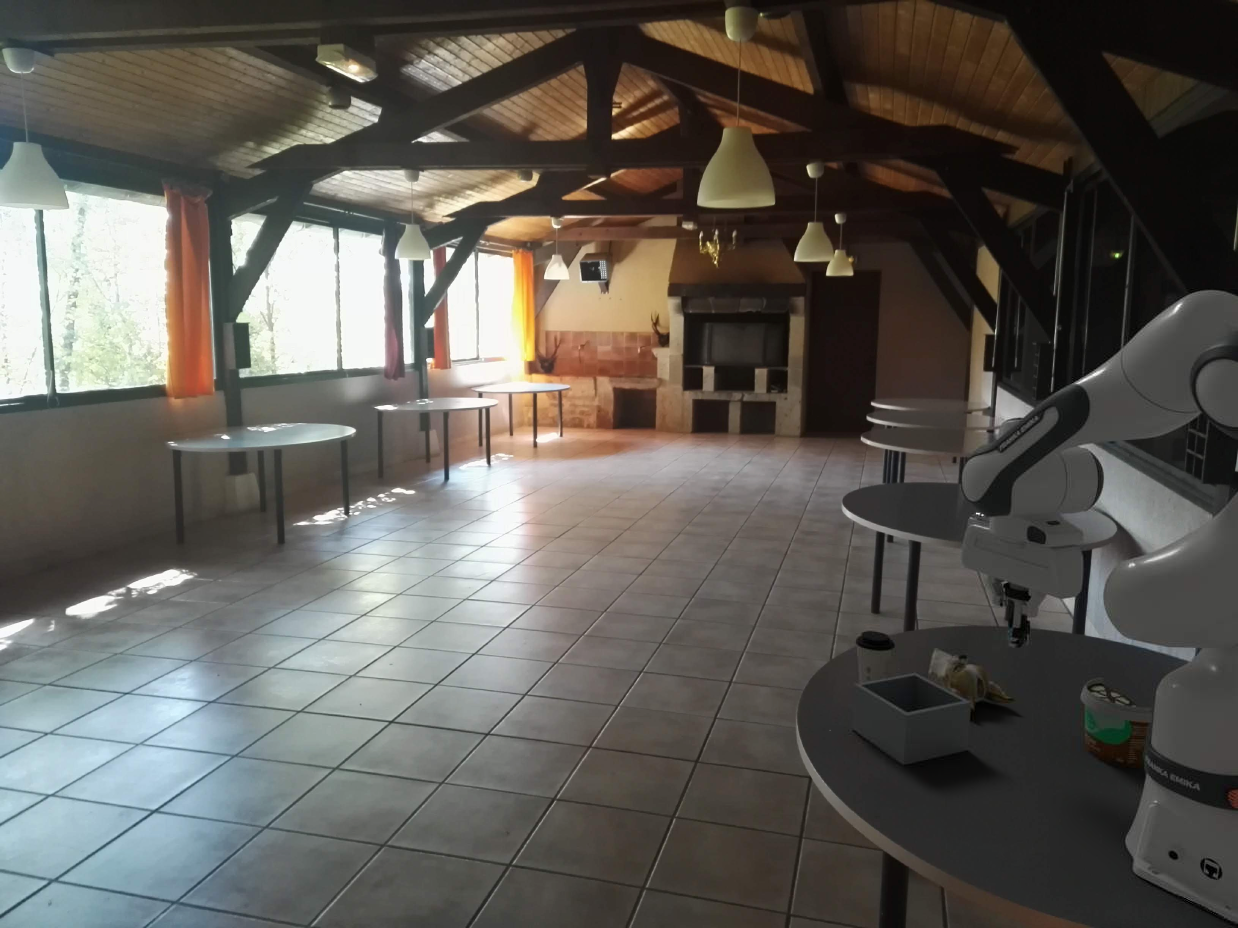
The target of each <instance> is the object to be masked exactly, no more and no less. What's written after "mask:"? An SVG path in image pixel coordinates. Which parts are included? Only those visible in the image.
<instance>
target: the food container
mask: <svg viewBox="0 0 1238 928" xmlns="http://www.w3.org/2000/svg"><path fill="white" fill-rule="evenodd" d="M1085 683H1086V684H1084V686H1083V689H1082V691H1081V694H1080V701H1081V702H1082V703H1083V704H1084V715H1085V716H1084V720H1085V721H1084V725H1085V726H1084V733H1085V734H1084V736H1085V737H1084V739H1085V740H1084V741H1085V743H1084V744H1085V745H1084V748H1085V750H1086V752H1087V753H1088V754H1089V755H1091V756H1092V757H1094V758H1096V759H1097V760H1100V761H1103V762H1105V763H1108V764H1111V765H1114V766H1120V767H1125V768H1133V769H1134V768H1135V769H1136V768H1138V769H1139V768H1142V767H1141V765H1142V760H1143V755H1144V750H1145V746H1146V745H1145V744H1146V739H1147V734H1148V729H1149V723H1152V724H1153V713H1152V707H1140V706H1139V705H1137V704H1135V702H1133V701H1132V700H1131V699H1130V698H1129V697H1128V696H1126V695H1125V694H1122V693H1120V692H1118V691H1115V690H1113V689H1111V688H1110V687H1108V686H1107V685H1105V684H1104V678H1103V677H1098V678H1093V679H1090V680H1088V681H1087V682H1085Z"/></svg>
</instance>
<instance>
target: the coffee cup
mask: <svg viewBox="0 0 1238 928" xmlns="http://www.w3.org/2000/svg"><path fill="white" fill-rule="evenodd" d="M855 644H856V649H857V650H856V651H857V652H856V653H857V654H856V655H857V662H858V667H857V668H858V675H859V677H858V679H859V683H863V682H868V681H874V680H879V679H885V678H889V672H890V667H891V663H892V657H893V651H894V648H895V647H896V644H895V642H894V641H893V639H892V638H890V636H889V635H888V634H886V633H884V632H879V631H873V630H868V631H867V630H866V631H863V632H861V634H860V635H859V636H858V637H857V638H856V640H855Z"/></svg>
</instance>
